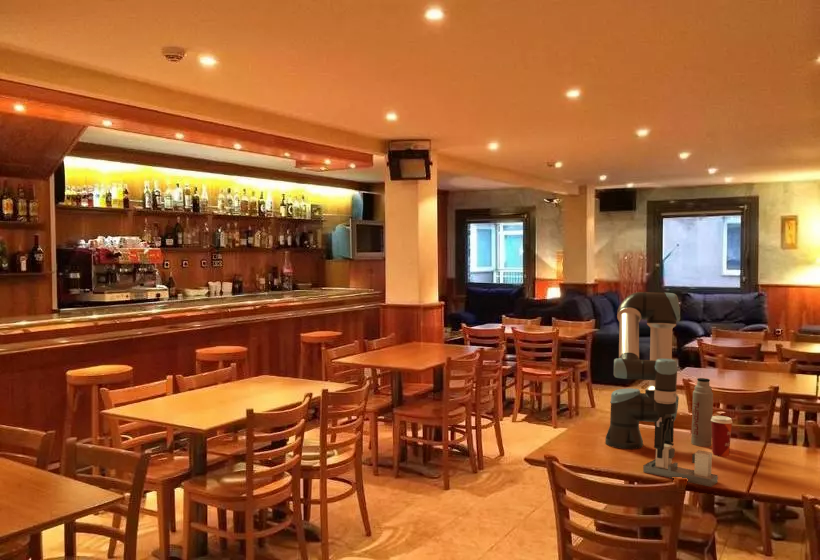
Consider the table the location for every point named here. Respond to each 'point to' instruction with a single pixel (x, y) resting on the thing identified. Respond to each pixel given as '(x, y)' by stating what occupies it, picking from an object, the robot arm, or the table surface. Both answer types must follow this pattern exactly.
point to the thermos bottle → (702, 413)
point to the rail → (688, 470)
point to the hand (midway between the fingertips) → (663, 464)
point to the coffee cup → (721, 435)
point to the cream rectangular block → (667, 455)
